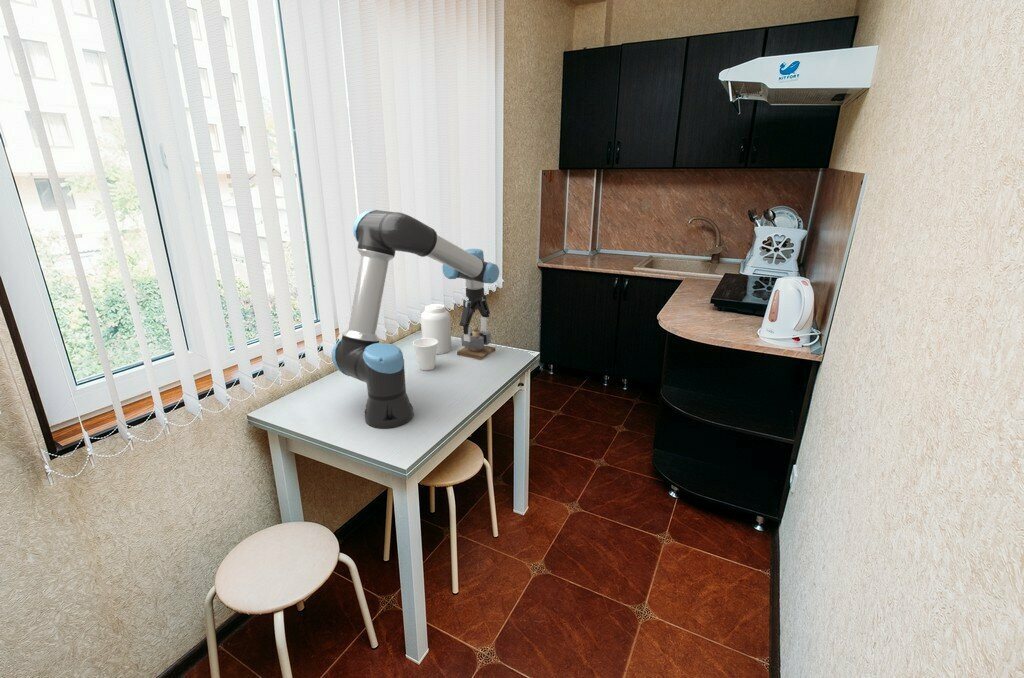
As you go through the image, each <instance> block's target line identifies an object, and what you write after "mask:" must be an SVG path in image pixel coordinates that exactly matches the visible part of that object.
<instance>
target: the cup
mask: <svg viewBox="0 0 1024 678" xmlns="http://www.w3.org/2000/svg"><path fill="white" fill-rule="evenodd" d="M437 344H438V340H436V339H433V338H422V337H421V338H417V339H415V340H413V341H412V346H413V349H414V352H415V357H416V360H417V365H418V368H419V370H421V371H431V370H433V369H434V368H435V366H436V360H437V358H436V357H437V354H436V351H437Z"/></svg>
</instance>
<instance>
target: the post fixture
mask: <svg viewBox="0 0 1024 678" xmlns="http://www.w3.org/2000/svg"><path fill="white" fill-rule="evenodd" d="M472 330H473V331H472V336H475V337H479V336H480V332H479V331H480V330H479V326H478V325H474V326H473V329H472ZM494 352H496V347H495V346H489V345H484V347H483V348H481V349H475V348H470V347H465V346H463V348H461V349H459V350H458V351H456V356H460V357H465V358H469V359H474V360H479V361H482V360H484V359H485V358H486V357H488V356H490V355H491V354H492V353H494Z"/></svg>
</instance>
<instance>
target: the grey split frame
mask: <svg viewBox="0 0 1024 678" xmlns="http://www.w3.org/2000/svg"><path fill="white" fill-rule="evenodd" d="M473 330H474V329H470V342H468V341H464V334H462V335H461V336H460V337H461V346H462V347H470V348H475V349H481V348H483V347H484V345H485V346H489V344H491V343H492V342H491V340H492V338H491V334H492V333H491V332H488V331H487V332H483V331H481V330H479V332H480V336H479V337H475V336H472V331H473Z"/></svg>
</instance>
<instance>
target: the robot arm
mask: <svg viewBox="0 0 1024 678" xmlns="http://www.w3.org/2000/svg"><path fill="white" fill-rule="evenodd" d="M352 229H353V231H352V232H353V237H354V238H355V242H357V249H356V250H357V251H358V253H359V254H360V260H359V267H358V272H357V278H356V284H355V288H354V289H355V291H354V294H353V295H354V296H353V302H352V307H351V308H352V309H351V313H350V319H349V323H348V329H347V330H345V331H344V332H343V333H342V335H341V336H342V337H341V339H339V340H338V341H337V343H335V344H334V346H333V348H332V349H331V362H332V364H333V366H334V367H335V368H336V370H338V371H339V372H341V373H342V374H343V375H345V376H347V377H351V378H353V379H355V380H359V381H361V382H364V383H365V384H366V388H367V389H366V390H367V396H368V397H367V400H366V405H365V409H364V412H363V414H364V421H365V423H366V424H367V425H368V426H370V427H372V428H377V429H390V428H392V429H393V428H396V427H399V426H402V425H405V424H406V423H408V422H409V421H410V420H411V419H412V418H413V417H414V408H413V405H412V403H411V401H410V398H409V396H408V393H407V389H406V375H405V373H406V372H405V371H406V370H405V359H404V355H403V351H402V349H401V348H400V347H399V346H397V345H394V344H392V343H384V342H380V338H379V336H378V335H377V329H378V324H379V318H380V317H379V316H380V311H381V306H382V301H383V295H384V289H385V285H386V284H385V283H386V277H387V272H388V268H389V267H388V266H389V263H390V261H391V260H392V259H394V258H395V255H396V251H397V252H404V253H411V254H415V255H417V256H419V257H421V258H424V257H428V258H430V259H432V260H435V261H437V262H438V263H440V264H442V266H441V267H442V274H443V276H444V277H445V278H446V279H448V280H456V279H464V280H465V287H466V288H465V297H466V298H467V299H468V301H464V302H463V309H462V313H461V318H460V322H459V326H461V327H462V330H463V335H464V341H468V342H470V331H471V325H470V324H471V321H472V317H473V315H474V313H475V312H476V311H477V310H478V312H479V314H480V315H481V316H480V331H483V332H488V318H490V314H491V311H490V308H489V304H488V302H487V296H486V295H485V288H484V287H485V284H491V285H492V284H495V283H496V282H497V281H498V279H499V276H500V268H499V266H498V265H497V264H496V263H493V262H489V261H488V262H487V261H485V258H484V250H483V249H479V248H468V249H465V250H464V249H463V248H462V247H459V246H458V245H456V244H455V243H453V242H451V241H449V240H447V239H446V238H443V237H441V236H440V235H439V234H437V231H436V230H435V229H434V228H432V227H430V226H428V224H425V223H424V222H422V221H420V220H418V219H417V218H415V217H412V215H411V216H410V215H409V214H406V213H404V212H398V211H396V212H395V211H389V210H388V211H387V210H378V209H373V210H366V211H364V212H362V213H360V214H359V215H358V216H357V217H356V219H355V221H354V223H353V228H352Z"/></svg>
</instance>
